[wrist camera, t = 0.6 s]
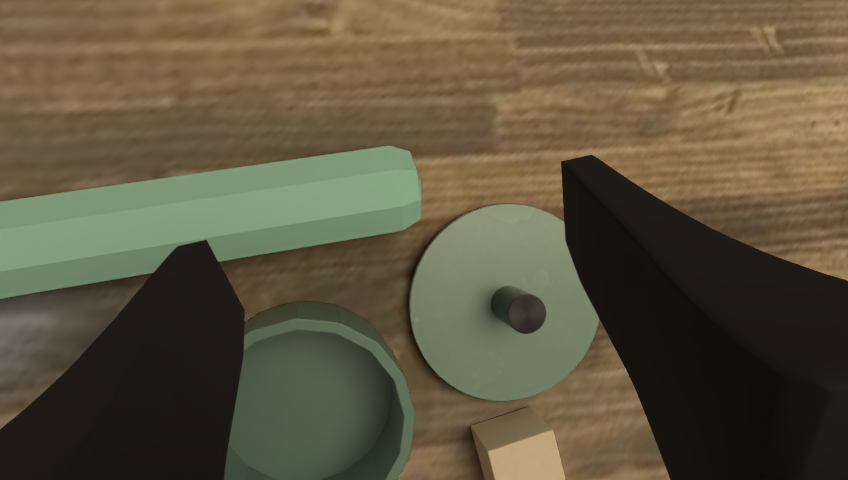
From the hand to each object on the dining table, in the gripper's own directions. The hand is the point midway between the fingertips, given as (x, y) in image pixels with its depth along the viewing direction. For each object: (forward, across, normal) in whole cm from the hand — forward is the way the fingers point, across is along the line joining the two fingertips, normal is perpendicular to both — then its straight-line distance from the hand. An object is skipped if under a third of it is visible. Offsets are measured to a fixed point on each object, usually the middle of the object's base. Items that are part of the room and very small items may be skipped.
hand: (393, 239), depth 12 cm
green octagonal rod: (+20, +12, +11) cm, 26 cm away
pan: (+14, +9, +21) cm, 26 cm away
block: (+12, -2, +27) cm, 30 cm away
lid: (+16, -4, +20) cm, 26 cm away
